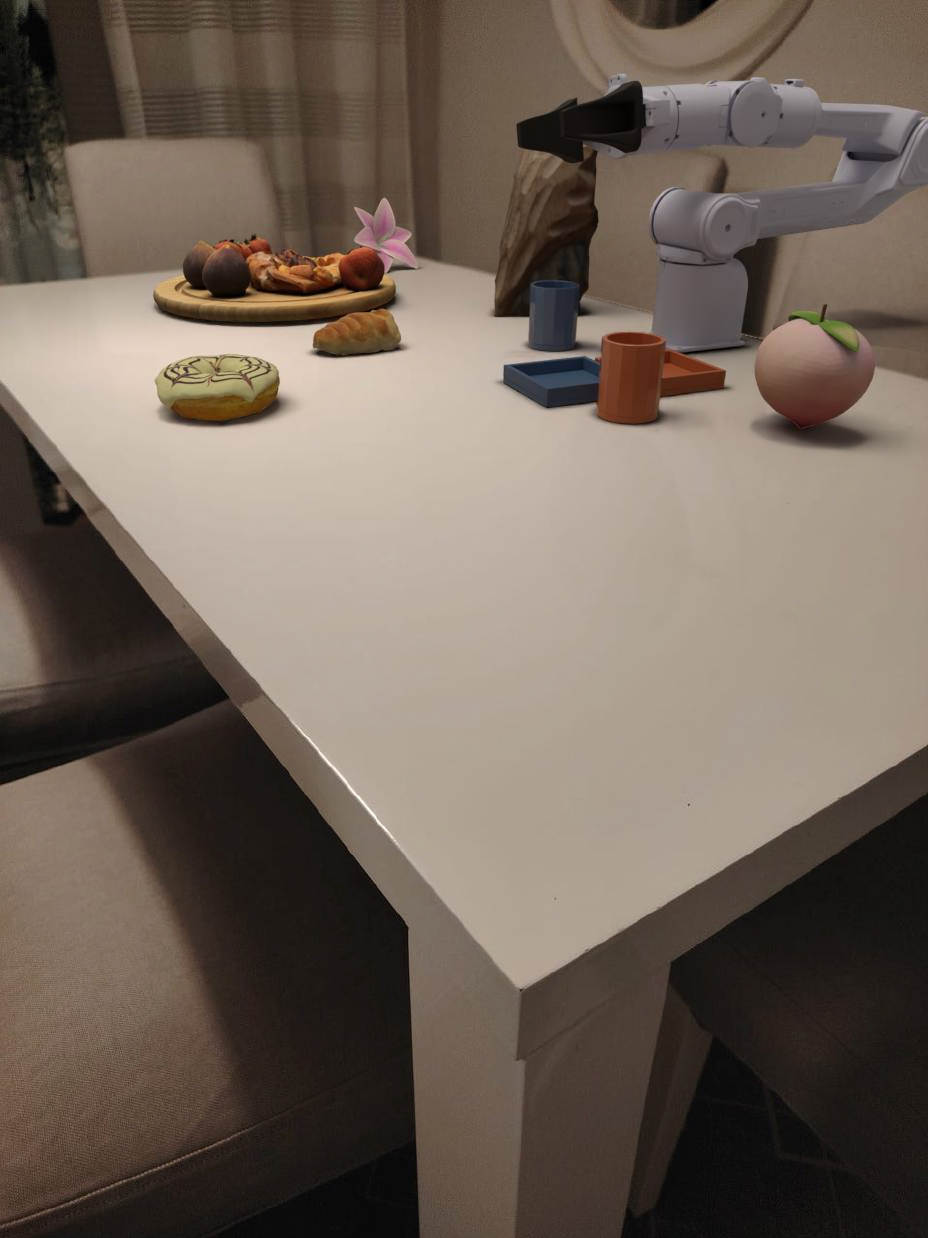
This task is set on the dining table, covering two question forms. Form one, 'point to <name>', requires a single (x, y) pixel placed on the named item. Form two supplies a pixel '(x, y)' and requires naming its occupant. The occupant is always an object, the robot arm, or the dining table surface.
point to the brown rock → (546, 228)
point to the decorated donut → (218, 386)
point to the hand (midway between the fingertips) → (539, 129)
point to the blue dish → (555, 380)
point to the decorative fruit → (813, 368)
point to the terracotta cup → (630, 377)
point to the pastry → (359, 334)
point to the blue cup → (553, 315)
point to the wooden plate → (273, 283)
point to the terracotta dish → (688, 374)
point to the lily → (385, 235)
